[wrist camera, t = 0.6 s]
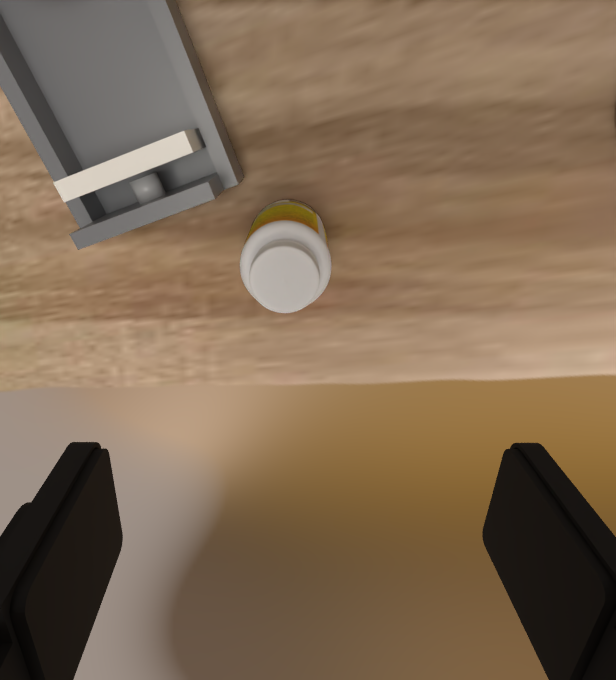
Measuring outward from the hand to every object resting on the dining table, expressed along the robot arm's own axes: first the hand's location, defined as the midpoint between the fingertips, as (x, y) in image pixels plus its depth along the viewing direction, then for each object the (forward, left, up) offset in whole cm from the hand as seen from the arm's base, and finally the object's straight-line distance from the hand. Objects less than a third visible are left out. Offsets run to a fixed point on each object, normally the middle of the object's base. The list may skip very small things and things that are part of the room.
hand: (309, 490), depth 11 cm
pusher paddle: (+8, -8, -25) cm, 28 cm away
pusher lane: (+8, -15, -27) cm, 32 cm away
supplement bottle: (+1, 0, -27) cm, 27 cm away
